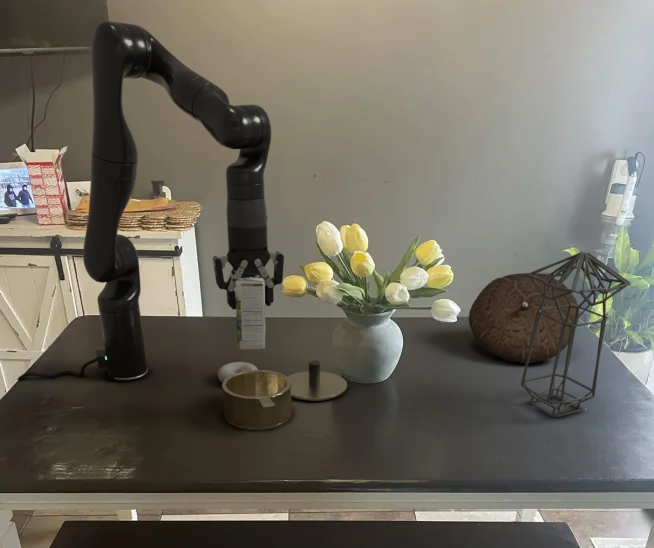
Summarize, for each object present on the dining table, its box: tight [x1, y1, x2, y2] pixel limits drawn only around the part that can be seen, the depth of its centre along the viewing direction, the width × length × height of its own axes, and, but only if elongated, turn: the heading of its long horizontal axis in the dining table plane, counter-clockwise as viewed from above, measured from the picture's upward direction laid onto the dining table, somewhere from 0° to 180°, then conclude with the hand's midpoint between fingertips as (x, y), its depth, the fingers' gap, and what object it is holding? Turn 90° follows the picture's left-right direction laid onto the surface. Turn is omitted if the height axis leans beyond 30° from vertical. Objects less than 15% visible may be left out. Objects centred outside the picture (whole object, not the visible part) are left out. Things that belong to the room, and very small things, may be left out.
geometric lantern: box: [520, 250, 632, 418], centre depth 145 cm, size 16×16×35 cm
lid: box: [287, 360, 348, 402], centre depth 159 cm, size 16×16×7 cm
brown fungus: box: [468, 272, 580, 364], centre depth 178 cm, size 28×23×25 cm
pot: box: [221, 368, 293, 431], centre depth 147 cm, size 15×20×8 cm
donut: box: [217, 361, 259, 384], centre depth 164 cm, size 10×4×10 cm
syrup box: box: [234, 274, 266, 351], centre depth 137 cm, size 6×6×14 cm
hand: (250, 306), depth 136 cm, fingers closed on syrup box, 6 cm apart
